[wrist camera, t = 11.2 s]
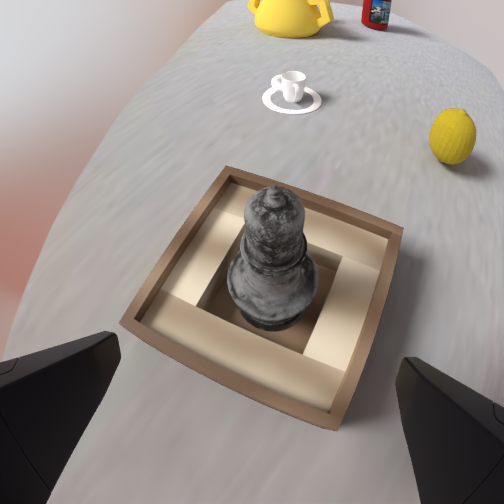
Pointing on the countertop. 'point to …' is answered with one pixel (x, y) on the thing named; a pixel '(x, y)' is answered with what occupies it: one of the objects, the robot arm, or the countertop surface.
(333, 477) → the countertop surface
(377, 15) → the beverage can
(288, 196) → the grey stone tall piece
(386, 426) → the countertop surface
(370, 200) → the countertop surface
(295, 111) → the teacup and saucer
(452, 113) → the lemon
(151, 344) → the walnut box
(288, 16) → the teapot
